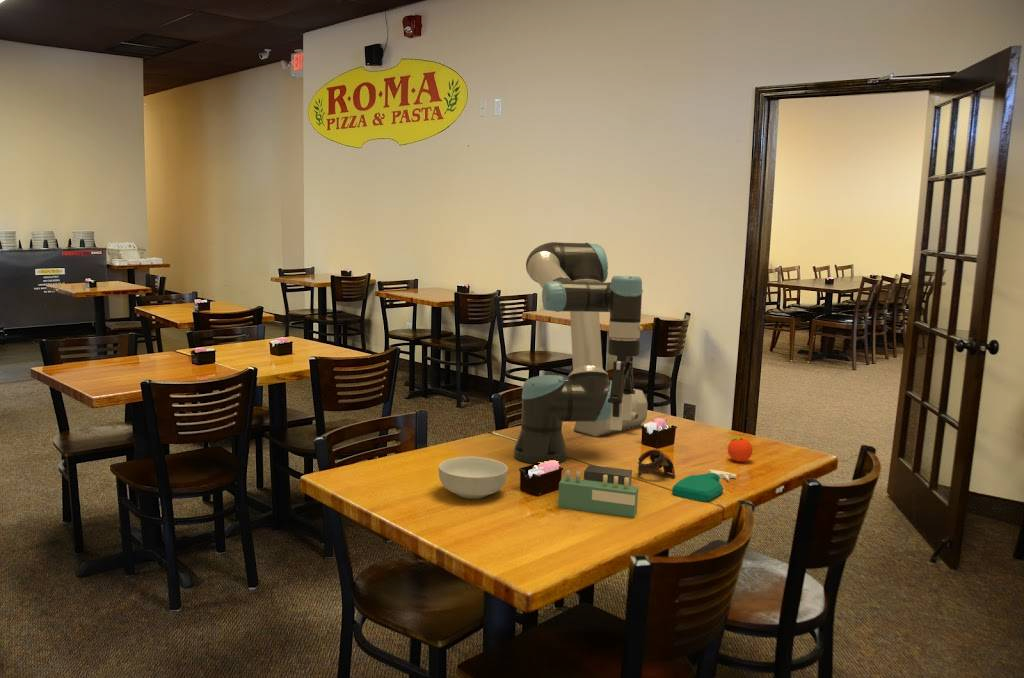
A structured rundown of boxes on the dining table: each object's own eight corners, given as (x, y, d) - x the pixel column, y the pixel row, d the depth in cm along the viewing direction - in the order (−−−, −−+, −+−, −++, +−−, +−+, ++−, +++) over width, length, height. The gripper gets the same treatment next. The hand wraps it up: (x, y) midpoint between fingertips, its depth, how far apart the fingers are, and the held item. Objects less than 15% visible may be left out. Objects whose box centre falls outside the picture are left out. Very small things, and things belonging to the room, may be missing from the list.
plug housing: (583, 494, 200) (584, 471, 199) (587, 487, 205) (588, 464, 204) (627, 500, 196) (628, 476, 195) (630, 493, 202) (632, 470, 201)
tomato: (721, 462, 232) (723, 438, 231) (724, 456, 238) (726, 432, 237) (750, 466, 229) (752, 442, 228) (752, 460, 235) (754, 436, 234)
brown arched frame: (680, 484, 212) (668, 459, 210) (646, 496, 214) (634, 471, 212) (674, 460, 223) (663, 436, 221) (643, 471, 225) (631, 448, 223)
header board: (557, 507, 190) (559, 472, 188) (562, 501, 194) (564, 467, 193) (633, 518, 184) (635, 482, 183) (636, 511, 189) (639, 476, 188)
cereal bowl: (454, 509, 186) (455, 479, 185) (427, 487, 201) (428, 460, 200) (518, 499, 194) (519, 471, 193) (488, 479, 209) (489, 453, 208)
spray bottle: (667, 496, 202) (702, 474, 222) (709, 505, 196) (741, 482, 216) (668, 484, 201) (703, 464, 222) (710, 493, 196) (742, 471, 216)
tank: (611, 442, 250) (613, 403, 248) (572, 431, 261) (574, 394, 259) (658, 430, 267) (660, 393, 265) (619, 420, 278) (621, 385, 277)
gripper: (631, 344, 183) (627, 435, 185) (647, 335, 207) (643, 417, 209) (598, 342, 185) (595, 433, 187) (618, 334, 209) (615, 414, 211)
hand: (620, 424), depth 198 cm, fingers open, 13 cm apart
